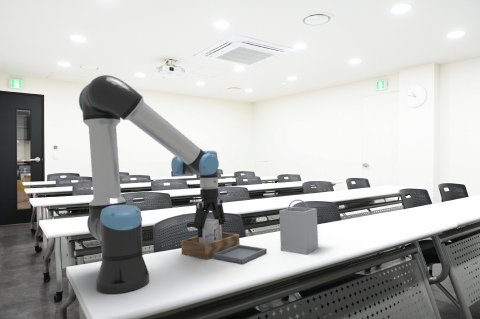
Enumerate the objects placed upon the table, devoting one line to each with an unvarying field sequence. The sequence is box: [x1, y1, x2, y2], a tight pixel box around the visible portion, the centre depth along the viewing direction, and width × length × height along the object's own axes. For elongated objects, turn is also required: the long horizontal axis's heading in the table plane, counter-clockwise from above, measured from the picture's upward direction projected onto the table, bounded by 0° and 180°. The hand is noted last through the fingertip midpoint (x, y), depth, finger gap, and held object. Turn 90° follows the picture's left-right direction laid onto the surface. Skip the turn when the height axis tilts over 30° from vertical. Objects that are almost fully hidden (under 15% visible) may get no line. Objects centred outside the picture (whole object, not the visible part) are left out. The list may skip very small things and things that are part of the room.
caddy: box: [278, 206, 319, 255], centre depth 131 cm, size 11×11×16 cm
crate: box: [180, 231, 241, 260], centre depth 133 cm, size 20×14×6 cm
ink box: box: [203, 218, 219, 244], centre depth 133 cm, size 9×5×12 cm, turn 168°
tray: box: [212, 244, 267, 265], centre depth 124 cm, size 16×14×2 cm
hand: (210, 242), depth 133 cm, fingers closed on ink box, 9 cm apart
